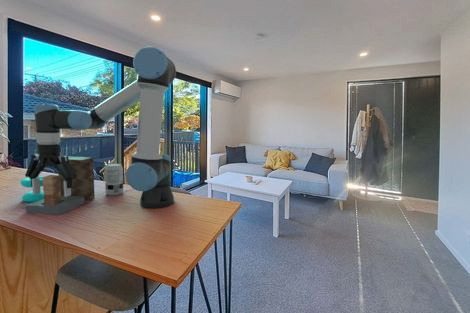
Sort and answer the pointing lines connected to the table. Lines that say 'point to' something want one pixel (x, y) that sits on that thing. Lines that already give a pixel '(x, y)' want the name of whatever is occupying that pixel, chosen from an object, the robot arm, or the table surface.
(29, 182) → the donuts
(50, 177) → the peg
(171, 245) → the table surface
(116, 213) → the table surface
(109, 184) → the supplement can
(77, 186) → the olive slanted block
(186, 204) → the table surface
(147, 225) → the table surface
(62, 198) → the socket
